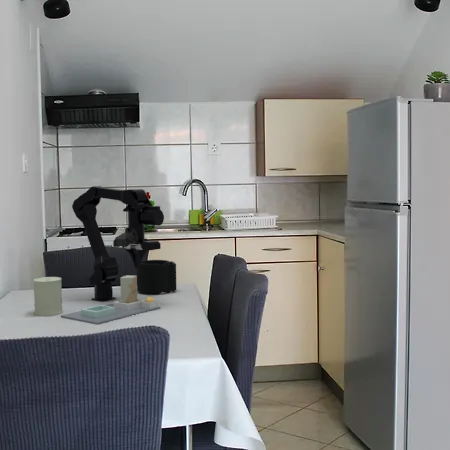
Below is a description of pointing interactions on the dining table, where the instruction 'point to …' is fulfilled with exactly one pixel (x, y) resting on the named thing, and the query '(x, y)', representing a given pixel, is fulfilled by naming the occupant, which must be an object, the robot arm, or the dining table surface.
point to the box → (128, 289)
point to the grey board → (107, 312)
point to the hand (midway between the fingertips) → (136, 268)
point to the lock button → (149, 299)
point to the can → (48, 296)
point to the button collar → (149, 304)
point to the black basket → (156, 277)
